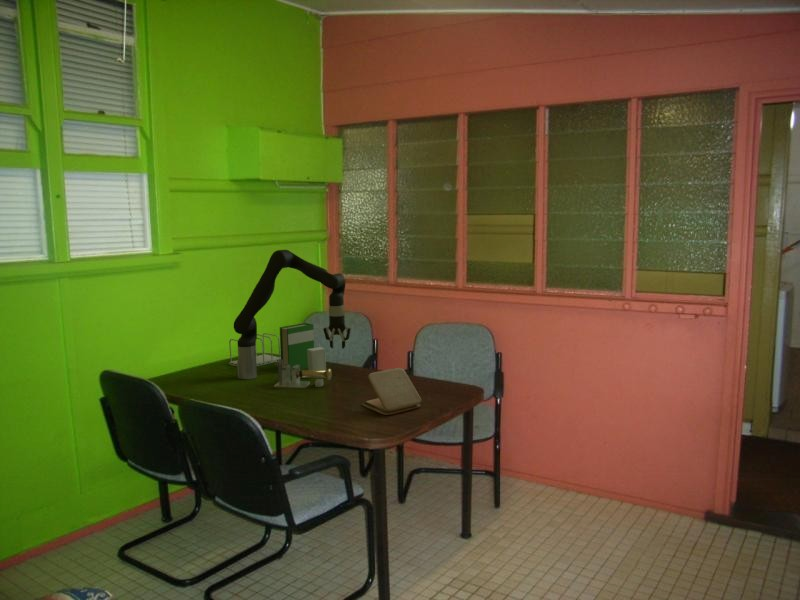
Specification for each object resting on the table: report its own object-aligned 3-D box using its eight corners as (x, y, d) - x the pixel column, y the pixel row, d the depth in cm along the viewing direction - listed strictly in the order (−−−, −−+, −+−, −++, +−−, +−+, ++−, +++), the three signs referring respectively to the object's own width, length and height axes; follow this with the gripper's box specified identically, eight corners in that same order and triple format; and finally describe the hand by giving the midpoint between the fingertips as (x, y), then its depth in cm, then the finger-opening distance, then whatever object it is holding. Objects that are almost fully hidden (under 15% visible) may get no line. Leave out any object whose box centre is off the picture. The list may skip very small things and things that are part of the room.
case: (386, 417, 277) (385, 380, 275) (359, 405, 294) (359, 370, 292) (423, 408, 289) (423, 373, 287) (396, 397, 306) (396, 364, 304)
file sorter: (264, 357, 393) (263, 331, 391) (282, 361, 381) (281, 335, 379) (228, 364, 375) (227, 338, 372) (246, 369, 363) (244, 342, 361)
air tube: (291, 380, 326) (291, 369, 325) (294, 377, 331) (294, 366, 330) (329, 381, 323) (329, 370, 322) (331, 378, 329) (331, 367, 328)
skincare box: (322, 373, 351) (321, 346, 349) (326, 375, 346) (325, 348, 344) (307, 375, 347) (306, 348, 345) (312, 378, 342) (311, 350, 340)
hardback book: (289, 372, 355) (287, 328, 352) (281, 369, 360) (279, 327, 357) (314, 366, 368) (313, 324, 365) (306, 364, 373) (305, 322, 370)
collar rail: (274, 387, 326) (273, 363, 324) (280, 382, 335) (279, 359, 333) (320, 388, 323) (319, 364, 321) (324, 382, 332) (323, 360, 330)
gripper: (320, 315, 318) (321, 349, 320) (349, 315, 316) (350, 350, 319) (324, 313, 325) (325, 346, 328) (352, 313, 324) (353, 346, 326)
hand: (337, 348), depth 323 cm, fingers open, 5 cm apart
